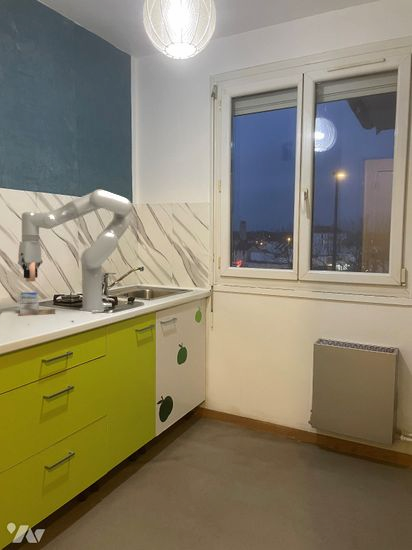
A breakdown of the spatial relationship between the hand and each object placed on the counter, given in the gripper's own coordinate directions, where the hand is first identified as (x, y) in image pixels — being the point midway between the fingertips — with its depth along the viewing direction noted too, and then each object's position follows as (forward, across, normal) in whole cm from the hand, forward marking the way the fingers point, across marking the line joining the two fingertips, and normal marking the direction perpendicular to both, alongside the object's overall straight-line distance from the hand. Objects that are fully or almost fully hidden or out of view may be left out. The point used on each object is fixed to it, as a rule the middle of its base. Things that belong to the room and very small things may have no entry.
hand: (30, 277), depth 194 cm
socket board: (+18, -1, +3) cm, 18 cm away
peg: (+2, 0, 0) cm, 2 cm away
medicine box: (+18, -11, -12) cm, 24 cm away
